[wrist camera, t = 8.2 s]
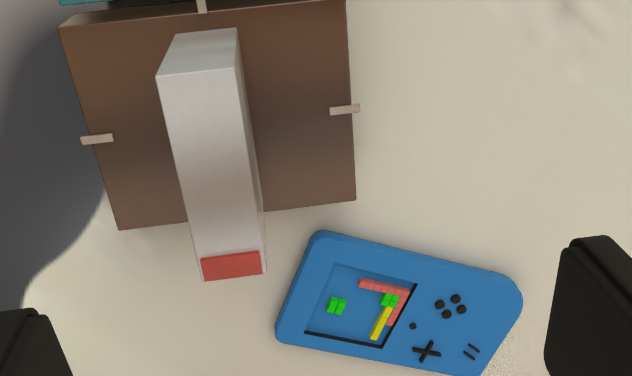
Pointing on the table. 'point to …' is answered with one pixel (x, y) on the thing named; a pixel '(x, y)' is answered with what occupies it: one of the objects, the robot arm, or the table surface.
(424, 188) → the table surface
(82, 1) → the basin
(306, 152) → the panel
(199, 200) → the white block
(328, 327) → the handheld gaming device
